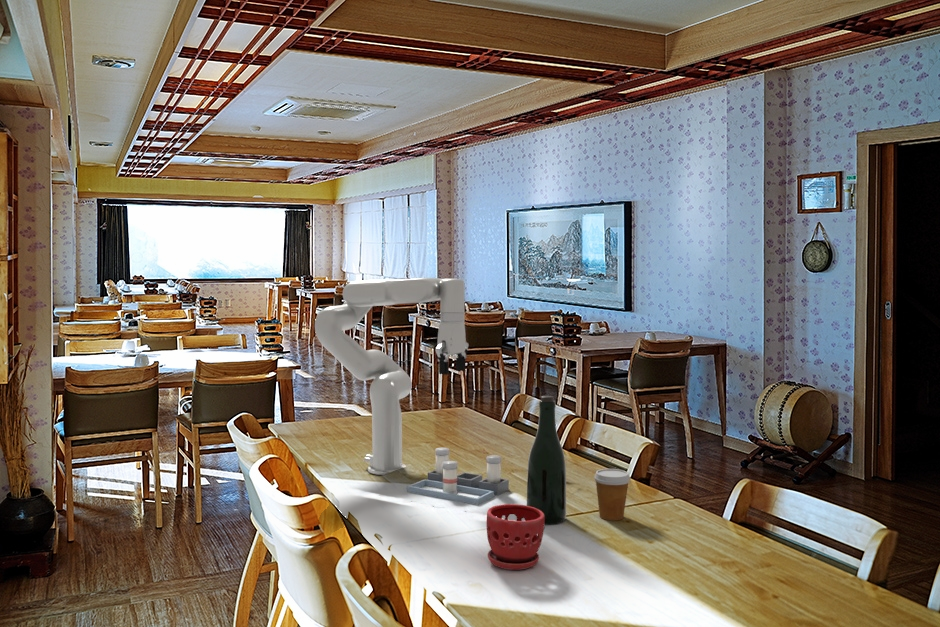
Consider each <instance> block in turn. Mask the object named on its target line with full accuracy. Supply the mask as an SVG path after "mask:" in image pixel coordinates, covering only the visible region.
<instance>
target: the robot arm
mask: <svg viewBox="0 0 940 627" xmlns="http://www.w3.org/2000/svg"><path fill="white" fill-rule="evenodd" d="M465 291H466V290H465V281H464V280H463V279H462V278H439V277H420V278H407V279H406V278H405V279H392V278H383V279H379V278H378V279H368V280H367V279H366V280H354V281H351V282H347V284H346V285H345V286H344V287H343V290H342V298H343V301H344V302H343V303H342V304H341V305H333V306H327V307H325V308H323V309H321V310H320V311H319V312H318V314H317V315H316V317H315V322H314V332H315V336H316V337H317V339H318V342H319V343H320V344H321V346H322V347H324V348H325V349H326V350H327V352H328V353H330V354H331V355H332V356H333V357H334V358H335V359H336V360H337V361H338V362H339V363H340V364H341V365H342V366H343V367H344V368H346V370H348V372H349V373H350V374H351V375H353V377H355V379H357V380H359V381H369V380H372V379H373V381H371V384H370V385H369V398H370V404H371V405H370V407H371V420H372V422H371V423H372V426H371V428H372V429H371V430H372V432H371V433H372V434H371V435H372V436H371V437H372V438H371V439H372V441H371V442H372V444H371V445H372V447H371V448H372V454H366V455H365V457H364V459H363V460H364V462H367V463H369V465H368V467H367V471H368V473H369V474H373V475H378V476H379V475H380V476H384V475H387V474H389V473H393V472H396V471H398V470H401V469H404V468H405V467H407V465H405V463H403V441H402V440H403V431H402V429H403V427H402V426H403V421H402V417H403V416H402V409H401V408H402V407H401V404H400V400H401V399H404V398H406V397H407V396H409V394H410V393H411V390H412V388H413V387H412V386H413V384H412V379H411V378H410V376H409V374H408V373H407V372H406V371H405V370H404V369H403V368H402V367H401V366H400V365H398V363H396V362H395V361H394V360H393V358H391V357H390V356H389V355H388V354H386V353H385V352H383V351H382V350H379V349H367V350H366V349H365V348H364V347H363V346H362V345H360V344H359V343H358V342H357V341H356V340H355V339H354V338H353V337H351V336H350V335H348V334H346V332H344V331H348V330H351V329H353V328H355V327H356V326H357V325H358V324H359V323H360V322H361V320H363V318H364V317H366V315H367V314H368V313H369V311H370V310H371V309H372V308H373V307H377V306H378V307H380V306H381V307H382V306H393V305H402V304H418V303H421V304H422V303H429V302H436V301H437V302H438V301H440V322H439V324H438V330H437V331H438V332H437V346H436V347H435V353H436V357H437V362H438V374H439V375H446V376H447V375H449V373H450V372H449V371H450V370H449V368H450V366H449V364H450V362H449V361H448V360H449V357H450V356H453V355H456V358H455V370H456V371H458V372H460V371H461V372H465V371H466V358H467V354H468V349H469V346H470V345H469V342H467V340H466V339H467V338H466V337H467V336H466V326H465V296H466V295H465V294H466V293H465Z"/></svg>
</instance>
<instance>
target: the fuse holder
mask: <svg viewBox="0 0 940 627" xmlns="http://www.w3.org/2000/svg"><path fill="white" fill-rule="evenodd" d="M427 480H432V481H438V482H443V475H441V474H436V469H434V470H432V471H429V472H427ZM509 482H510V479H507V478H502V477H501V482H500V483H498V484H494V483H488V482H487V477H486V478H483V475H481V474H478V473H472V472H471V473H470V472H466V471H465V472H464V471H463V472H462V473H459V474H457V485H461V486H466V487H472V488H478V489H484V490H489V491H494V497H498V496H499V495H502V494H504V493H505V492H508V491H510V490H511V488H509V487H510V484H509Z"/></svg>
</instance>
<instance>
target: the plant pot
mask: <svg viewBox="0 0 940 627" xmlns="http://www.w3.org/2000/svg"><path fill="white" fill-rule="evenodd" d="M510 515H511V516H512V515H514V516H515V517H516V520H510V519H509V517H510ZM503 516H505V517H504V518H502V517H503ZM523 519H524V520H523ZM544 520H545V516H544V513H543V512H542V511H540V510H539V509H536V508H534V507H530V506H527V505H525V504H515V503H512V504H511V503H508V504H507V503H504V504H497V505H494V506H492V507H489V508H488V510H487V511H486V521H485V522H486V536H487V542H488V544H489V548H490V550H489V551H488V553H487V558H488V560H489V561H490V563H492V564H493V565H494V566H495V567H498V568H501V569H504V570H509V571H510V570H512V571H517V570H518V571H520V570H524V569H525V570H526V569H529V568H532V567H533V566H535V565H536V564H538V561H539V560H540V556H539V554H538V551H539V549H540V548H541V544H542V542H543V536H544V532H545V531H544V530H545V524H544Z"/></svg>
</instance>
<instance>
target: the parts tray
mask: <svg viewBox="0 0 940 627" xmlns="http://www.w3.org/2000/svg"><path fill="white" fill-rule="evenodd" d="M424 486H428V487H433V488H438V489H443V482H438V481H432V480H428V479H426V478H425V479H422V480H420V481H417V482H414V483H412V484H408V485H407V486H406V492H408V493H413V494H419V495H423V496H428V497H433V498H434V497H435V498H440V499H445V500H451V501H454V502H455V501H456V502H461V503H467V504H473V505H477V506H479V505H480V504H482V503H484V502H486V501H488V500H490V499H492V498H494V497H495V496H494V491H489V490H484V489H478V488H472V487H466V486H461V485H457V492H461V493H467V494H472V495H478V497H475V496H474V497H473V496H468V495H463V494H458V493H457V494H452V493H446V492H443V491H440V490H434V489H430V488H424Z"/></svg>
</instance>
